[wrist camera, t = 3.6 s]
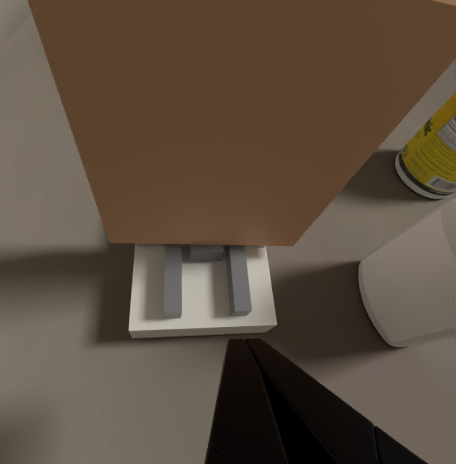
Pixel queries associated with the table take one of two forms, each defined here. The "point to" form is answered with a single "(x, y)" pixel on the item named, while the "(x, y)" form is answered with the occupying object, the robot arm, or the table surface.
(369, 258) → the eye dropper bottle
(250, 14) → the fader paddle
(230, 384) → the robot arm
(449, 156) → the supplement bottle
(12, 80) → the table surface
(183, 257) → the white base with rails
